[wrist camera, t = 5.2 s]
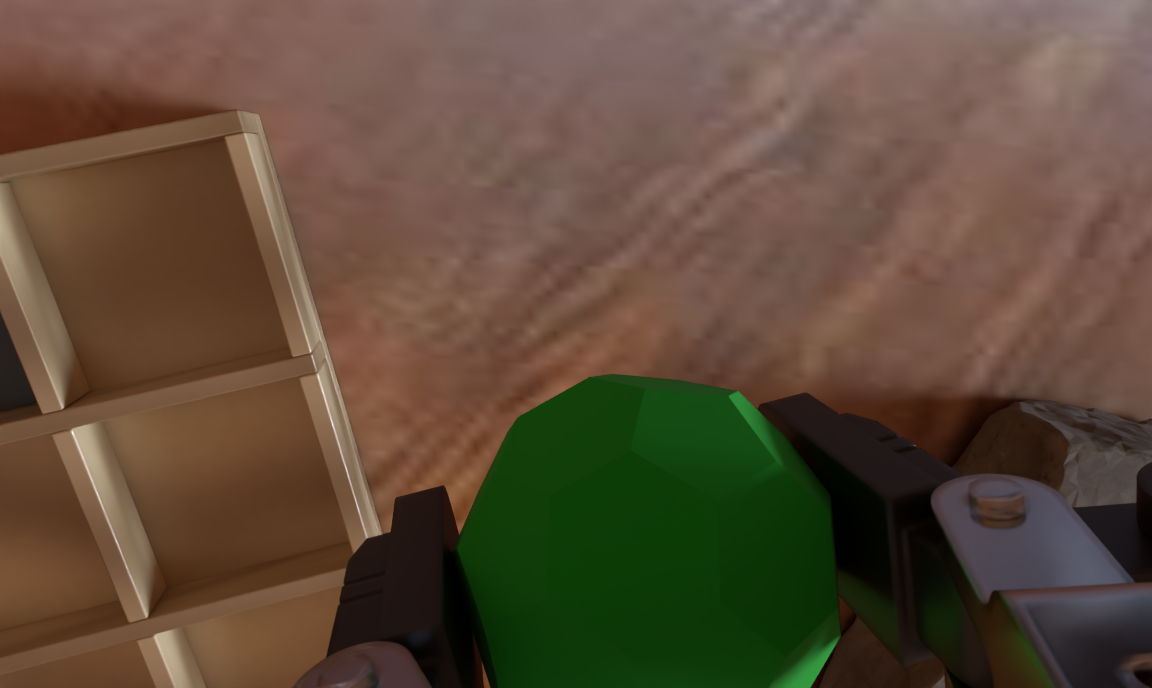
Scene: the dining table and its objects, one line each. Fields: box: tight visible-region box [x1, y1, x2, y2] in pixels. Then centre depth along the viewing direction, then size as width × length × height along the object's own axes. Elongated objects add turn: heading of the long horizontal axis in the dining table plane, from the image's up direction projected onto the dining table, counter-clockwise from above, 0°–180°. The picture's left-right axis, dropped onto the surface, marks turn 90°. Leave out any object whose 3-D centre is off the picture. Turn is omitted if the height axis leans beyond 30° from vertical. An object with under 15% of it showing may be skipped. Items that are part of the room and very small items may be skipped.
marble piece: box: [819, 400, 1152, 688], centre depth 30 cm, size 17×15×4 cm
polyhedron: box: [452, 374, 841, 688], centre depth 10 cm, size 5×5×5 cm
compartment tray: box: [0, 110, 382, 688], centre depth 24 cm, size 22×15×2 cm
